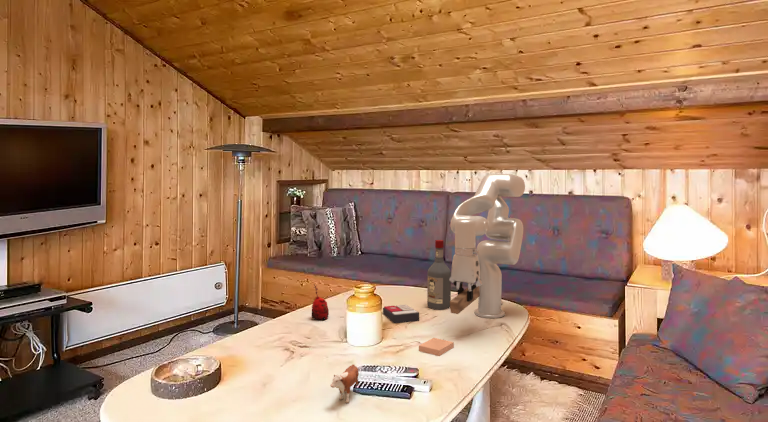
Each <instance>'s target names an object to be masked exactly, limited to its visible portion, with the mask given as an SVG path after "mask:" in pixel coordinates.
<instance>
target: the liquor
mask: <svg viewBox="0 0 768 422" xmlns="http://www.w3.org/2000/svg"><path fill="white" fill-rule="evenodd" d="M434 242H435V244H434V248H435V258H434V262H433V263H432V264H431V266H429V267H428V270H427V276H426V277H427V282H426V284H427V286H426V287H427V290H426V291H427V292H426V296H427V297H426V299H427V301H426V302H427V304H426V305H427V307H428V309H432V310H436V311H444V310H448V309H450V301H451V300H452V299H451V297H452V295H451V292H452V291H451V290H452V289H451V288H452V285H451V284H452V282H451V281H449V279H450V277H451V275H452V274H451V273H452V270H451V269H450V268H449V267H448V265H447V264H446V263H445V260H444V248H445V247H444V240H443V239H436V240H435V241H434Z"/></svg>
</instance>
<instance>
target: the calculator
mask: <svg viewBox="0 0 768 422" xmlns="http://www.w3.org/2000/svg"><path fill="white" fill-rule="evenodd" d="M382 314H383V316H385V317H386V318H387V319H389V320H390V321H391V322H392V324H402V323H415V322H419V321H420V312H419V311H417V310H415V309H414V308H413V307H412V306H409V305H407V304H397V305H388V306H387V305H386V306H383V307H382Z"/></svg>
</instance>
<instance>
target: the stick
mask: <svg viewBox="0 0 768 422" xmlns="http://www.w3.org/2000/svg"><path fill="white" fill-rule="evenodd" d="M467 291H468V287H466V288H465V289H464V291H463V292H461V293H460V294H459V295H458V294H457V295H456V296H455V297H453V298H452V299H451V301H450V308H449V310H450V313H451V314H454V315H455V314H456V315H459V314H460V313H461V312H463V310H465V309H466V308H468V306H470V305H471V304H472V303H473V302H475V301H476V300H477V299H478V297H479V296H480V291H479V286H478V287H476V288H475V289H474V290H473V299H472V300H471V301H470V302H468V301H467Z"/></svg>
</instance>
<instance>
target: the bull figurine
mask: <svg viewBox="0 0 768 422" xmlns="http://www.w3.org/2000/svg"><path fill="white" fill-rule="evenodd" d="M359 375H360V373H359V368H358V367H357V365H355V364H351V365H349V366H348V367H347V368H346V369H345V370H344V371H343V372H342V373H341V374H333V378H332V382H331V383H330V388H332V389H334V388H336V389H338V391H339V394H340V395H339V401H342V400H343V399H344V393H345V396H346V398H345V401H344V403H345V404H349V403H350V398H349V397H350V392H351V388H352V387H353V386H354V385H355V386H356V385H357V384H358V385H359Z"/></svg>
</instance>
